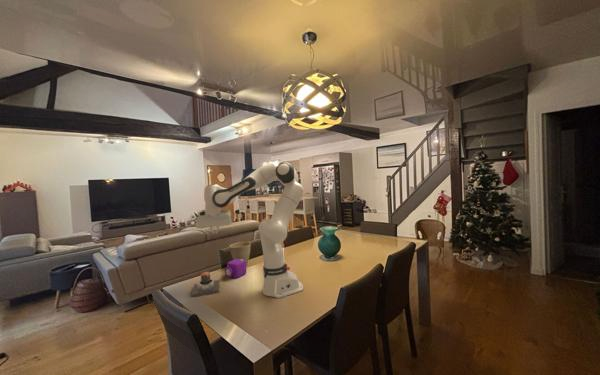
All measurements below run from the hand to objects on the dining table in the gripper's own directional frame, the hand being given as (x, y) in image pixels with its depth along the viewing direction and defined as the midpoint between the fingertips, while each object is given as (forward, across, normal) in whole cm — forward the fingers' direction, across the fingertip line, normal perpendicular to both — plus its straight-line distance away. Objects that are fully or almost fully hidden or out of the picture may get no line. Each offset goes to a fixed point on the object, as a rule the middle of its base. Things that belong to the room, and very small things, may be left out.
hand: (215, 233), depth 148 cm
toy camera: (+31, -10, -6) cm, 33 cm away
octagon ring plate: (+30, +7, +6) cm, 32 cm away
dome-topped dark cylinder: (+29, +7, +7) cm, 30 cm away
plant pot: (+31, -15, -23) cm, 42 cm away
